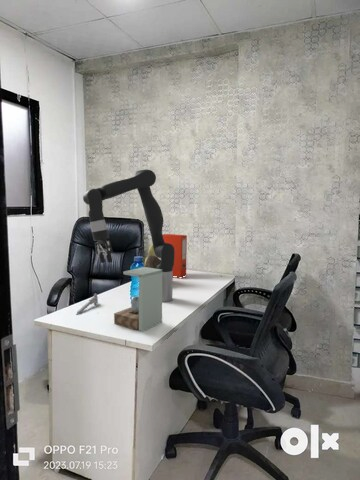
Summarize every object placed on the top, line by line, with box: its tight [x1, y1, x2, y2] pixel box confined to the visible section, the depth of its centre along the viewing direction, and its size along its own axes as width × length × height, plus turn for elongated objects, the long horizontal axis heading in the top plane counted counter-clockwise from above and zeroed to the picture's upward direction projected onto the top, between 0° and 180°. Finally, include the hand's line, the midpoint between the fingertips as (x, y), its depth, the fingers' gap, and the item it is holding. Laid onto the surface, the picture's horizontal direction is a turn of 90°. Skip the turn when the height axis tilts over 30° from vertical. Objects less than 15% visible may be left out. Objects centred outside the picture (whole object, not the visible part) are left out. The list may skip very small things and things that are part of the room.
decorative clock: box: [143, 243, 161, 269], centre depth 235 cm, size 28×13×30 cm, turn 159°
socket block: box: [113, 307, 139, 331], centre depth 158 cm, size 14×14×5 cm
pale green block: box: [122, 266, 163, 333], centre depth 155 cm, size 11×14×25 cm
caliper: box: [75, 293, 99, 316], centre depth 178 cm, size 20×1×6 cm, turn 165°
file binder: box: [162, 233, 188, 277], centre depth 258 cm, size 8×17×32 cm, turn 57°
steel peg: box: [130, 296, 139, 315], centre depth 158 cm, size 4×4×12 cm
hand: (106, 262), depth 167 cm, fingers open, 8 cm apart
